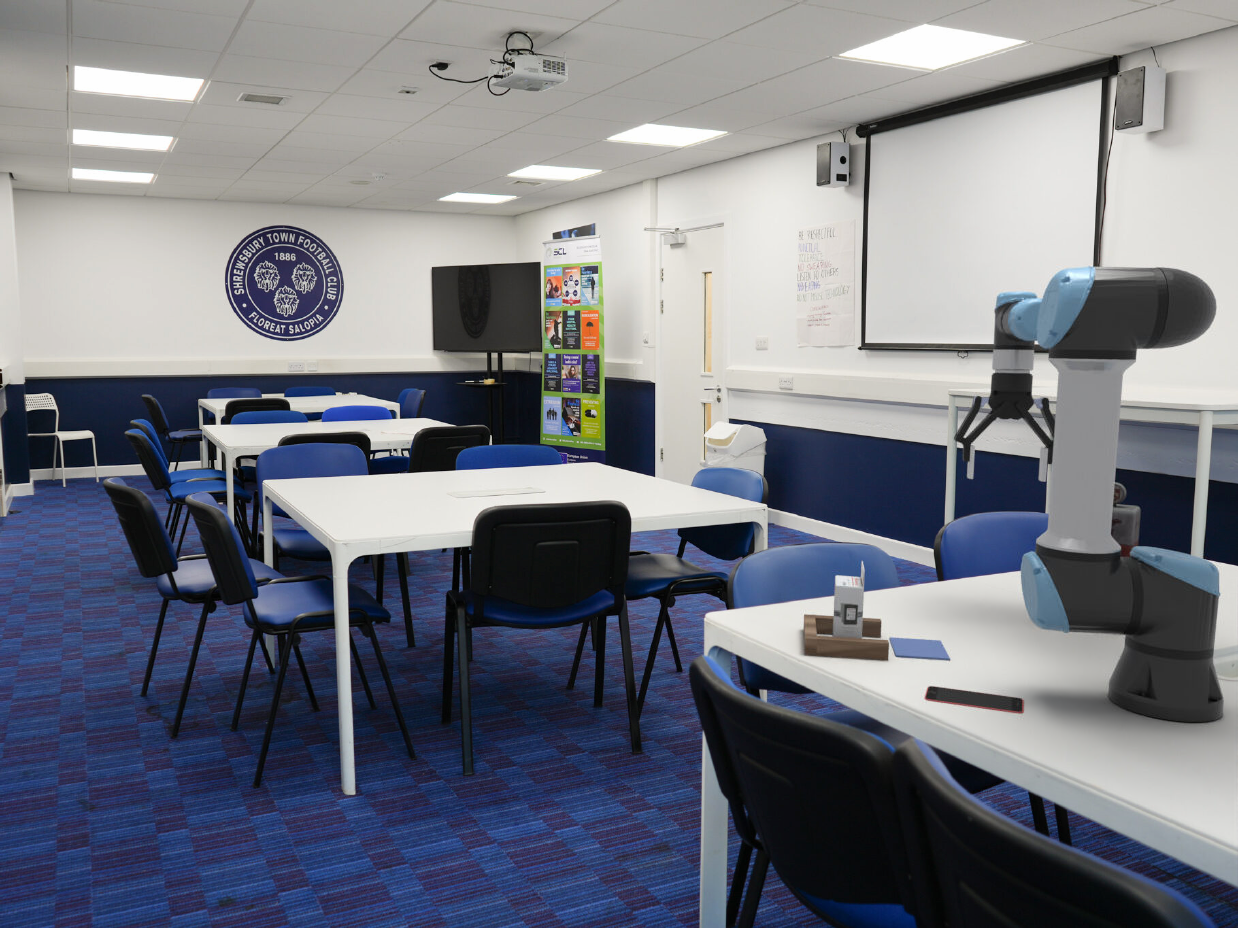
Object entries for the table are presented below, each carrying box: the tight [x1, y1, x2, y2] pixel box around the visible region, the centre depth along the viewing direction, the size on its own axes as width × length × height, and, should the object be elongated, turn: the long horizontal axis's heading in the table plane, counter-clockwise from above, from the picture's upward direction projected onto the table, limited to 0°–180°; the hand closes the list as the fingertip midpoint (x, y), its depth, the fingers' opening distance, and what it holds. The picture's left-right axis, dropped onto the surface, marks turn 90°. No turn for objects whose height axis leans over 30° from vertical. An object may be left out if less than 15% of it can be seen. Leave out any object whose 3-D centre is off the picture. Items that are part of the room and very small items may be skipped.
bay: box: [803, 613, 890, 661], centre depth 175 cm, size 16×14×3 cm
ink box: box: [832, 560, 866, 639], centre depth 175 cm, size 9×5×15 cm, turn 168°
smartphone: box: [924, 685, 1025, 715], centre depth 148 cm, size 7×1×14 cm
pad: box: [889, 636, 951, 661], centre depth 173 cm, size 11×9×1 cm
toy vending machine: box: [1111, 481, 1141, 557], centre depth 190 cm, size 9×11×28 cm
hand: (1005, 479), depth 194 cm, fingers open, 13 cm apart
